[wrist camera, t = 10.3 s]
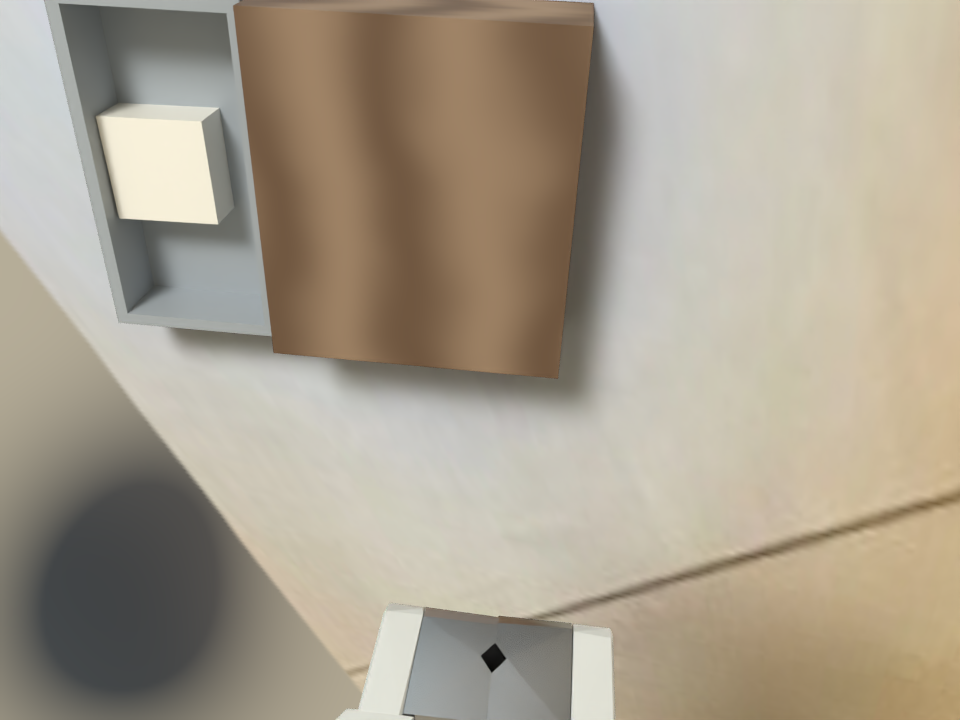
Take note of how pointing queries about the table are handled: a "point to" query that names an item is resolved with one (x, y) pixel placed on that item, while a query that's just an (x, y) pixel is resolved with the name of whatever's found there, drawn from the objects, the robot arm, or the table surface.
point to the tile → (167, 162)
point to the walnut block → (417, 175)
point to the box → (179, 82)
